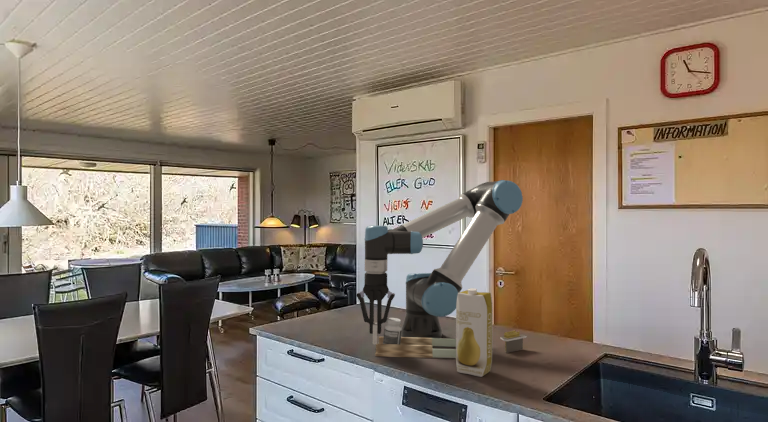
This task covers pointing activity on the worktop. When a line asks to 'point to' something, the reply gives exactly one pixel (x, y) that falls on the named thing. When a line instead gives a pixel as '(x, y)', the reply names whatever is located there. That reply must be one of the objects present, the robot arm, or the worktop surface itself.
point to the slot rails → (406, 348)
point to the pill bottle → (392, 331)
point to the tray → (444, 352)
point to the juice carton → (474, 332)
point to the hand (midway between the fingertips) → (375, 343)
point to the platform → (513, 341)
